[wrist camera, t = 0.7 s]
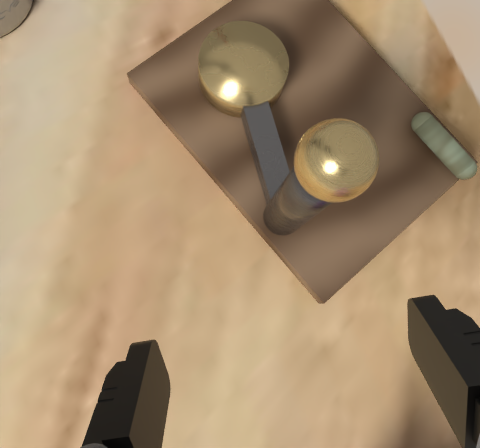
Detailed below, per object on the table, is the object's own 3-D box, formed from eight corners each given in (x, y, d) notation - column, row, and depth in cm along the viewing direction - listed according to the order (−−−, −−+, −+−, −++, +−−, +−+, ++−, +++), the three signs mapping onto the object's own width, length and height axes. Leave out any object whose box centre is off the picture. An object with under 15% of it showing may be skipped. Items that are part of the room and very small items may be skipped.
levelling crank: (188, 48, 36) (182, -138, 21) (269, 32, 37) (319, -156, 22) (246, 252, 33) (287, 209, 18) (331, 229, 34) (437, 170, 19)
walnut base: (129, 82, 36) (123, 61, 33) (287, -28, 40) (295, -57, 37) (322, 307, 35) (335, 307, 31) (470, 171, 38) (495, 158, 35)
